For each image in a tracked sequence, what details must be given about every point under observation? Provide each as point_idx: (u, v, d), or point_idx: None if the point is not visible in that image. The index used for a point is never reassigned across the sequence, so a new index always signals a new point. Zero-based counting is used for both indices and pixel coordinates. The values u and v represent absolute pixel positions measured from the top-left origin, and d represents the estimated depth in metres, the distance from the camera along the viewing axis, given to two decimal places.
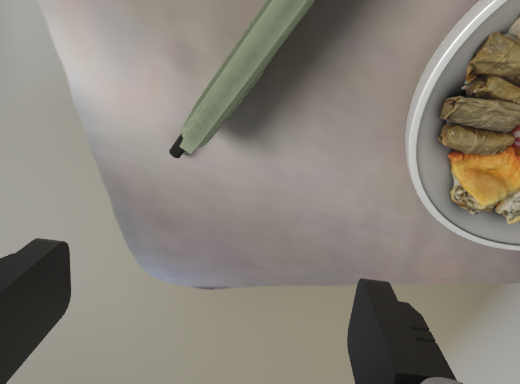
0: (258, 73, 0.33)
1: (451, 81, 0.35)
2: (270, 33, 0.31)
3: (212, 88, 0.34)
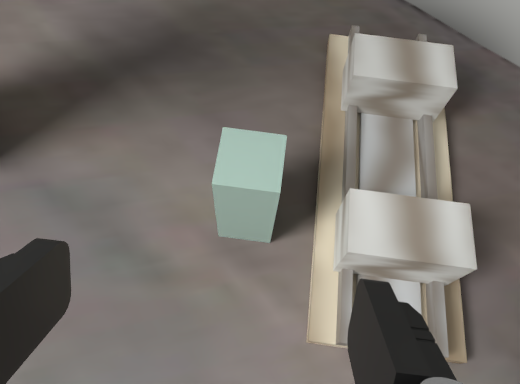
0: None
1: None
2: None
3: None
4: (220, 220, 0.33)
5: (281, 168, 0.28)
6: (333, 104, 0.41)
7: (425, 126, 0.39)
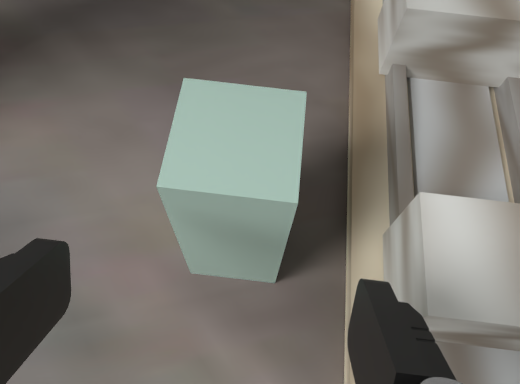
0: None
1: None
2: None
3: None
4: (189, 251, 0.19)
5: (298, 154, 0.14)
6: (366, 66, 0.27)
7: (513, 94, 0.25)
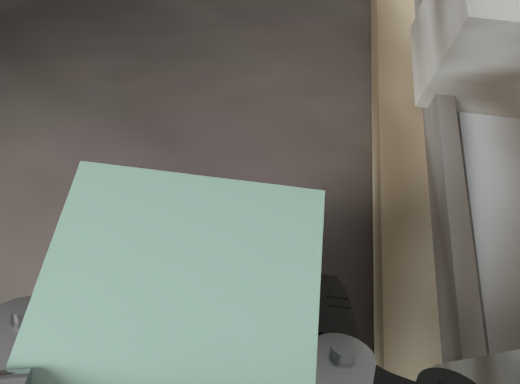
0: None
1: None
2: None
3: None
4: None
5: (310, 345, 0.06)
6: (396, 95, 0.20)
7: None
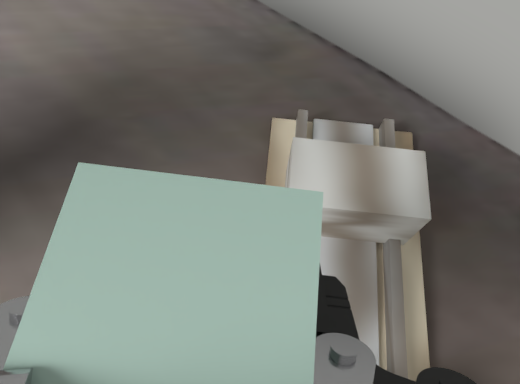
0: None
1: None
2: None
3: None
4: None
5: (308, 347, 0.06)
6: None
7: (391, 257, 0.29)
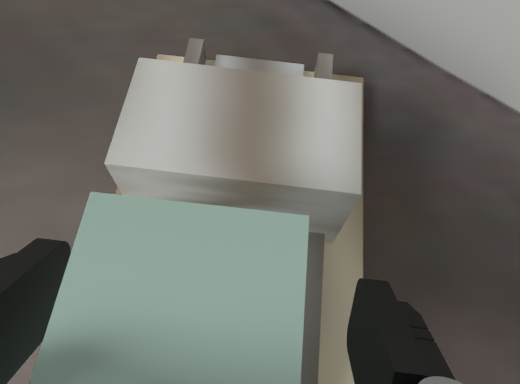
0: None
1: None
2: None
3: None
4: None
5: (295, 355, 0.07)
6: None
7: (307, 262, 0.17)
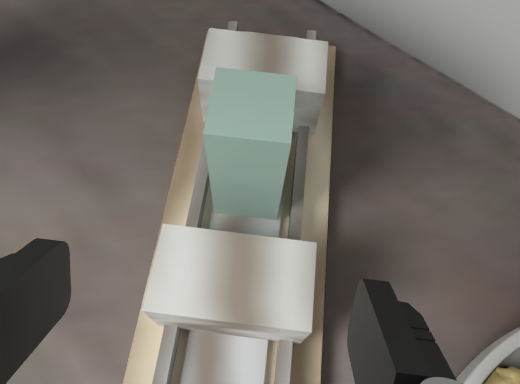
0: None
1: None
2: None
3: None
4: (216, 190, 0.27)
5: (291, 114, 0.22)
6: (197, 114, 0.34)
7: (299, 140, 0.32)
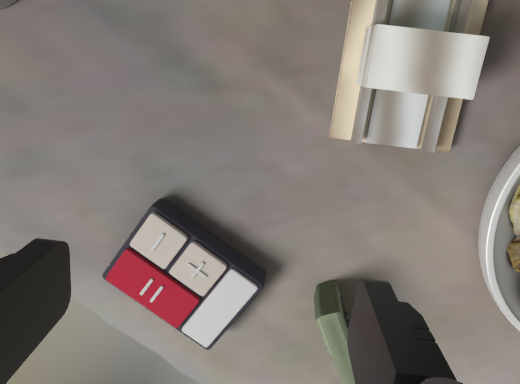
0: None
1: (513, 286, 0.44)
2: (349, 371, 0.45)
3: None
4: None
5: None
6: None
7: None
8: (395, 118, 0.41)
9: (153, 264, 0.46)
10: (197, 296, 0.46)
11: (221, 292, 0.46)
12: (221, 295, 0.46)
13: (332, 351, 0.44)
